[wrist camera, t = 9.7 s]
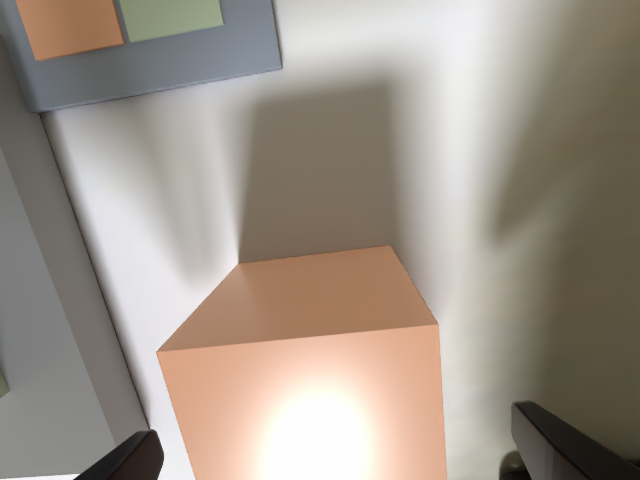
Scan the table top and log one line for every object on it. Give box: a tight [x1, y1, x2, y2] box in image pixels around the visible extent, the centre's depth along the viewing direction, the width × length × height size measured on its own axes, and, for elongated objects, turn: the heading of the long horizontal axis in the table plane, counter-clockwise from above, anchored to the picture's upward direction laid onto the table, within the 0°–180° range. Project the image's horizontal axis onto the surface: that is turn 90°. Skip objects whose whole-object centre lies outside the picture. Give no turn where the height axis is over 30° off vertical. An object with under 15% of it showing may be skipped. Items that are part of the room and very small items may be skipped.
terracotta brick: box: [156, 245, 447, 480], centre depth 9 cm, size 7×5×5 cm
